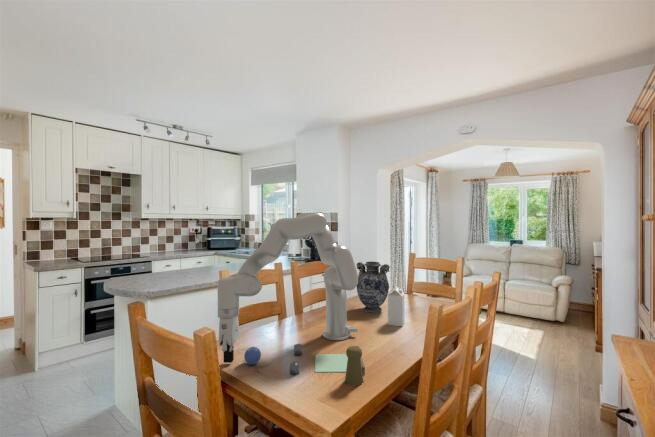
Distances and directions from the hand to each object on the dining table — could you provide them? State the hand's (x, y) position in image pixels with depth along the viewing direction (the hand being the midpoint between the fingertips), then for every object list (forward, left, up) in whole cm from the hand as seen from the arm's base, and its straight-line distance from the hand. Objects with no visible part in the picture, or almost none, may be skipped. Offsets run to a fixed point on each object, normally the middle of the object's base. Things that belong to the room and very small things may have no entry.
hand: (228, 361), depth 113 cm
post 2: (-25, +7, -1) cm, 26 cm away
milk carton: (-72, -42, -1) cm, 83 cm away
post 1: (-25, -8, -1) cm, 26 cm away
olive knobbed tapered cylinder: (-45, +13, -1) cm, 47 cm away
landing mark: (-39, 0, -1) cm, 39 cm away
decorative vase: (-64, -66, -1) cm, 92 cm away
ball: (-9, 0, +2) cm, 9 cm away
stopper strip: (-48, 0, -1) cm, 48 cm away
